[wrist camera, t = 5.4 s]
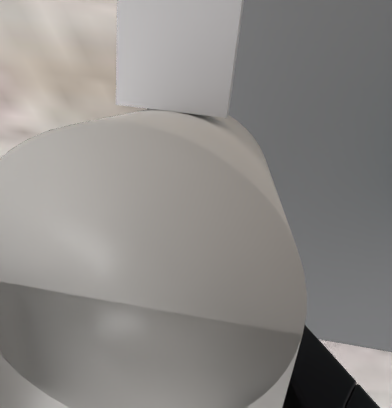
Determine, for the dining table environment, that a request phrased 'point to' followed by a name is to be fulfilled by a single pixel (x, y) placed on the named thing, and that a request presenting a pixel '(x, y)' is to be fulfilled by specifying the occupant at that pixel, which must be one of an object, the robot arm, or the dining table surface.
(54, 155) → the white rounded piece
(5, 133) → the dining table surface
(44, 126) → the dining table surface
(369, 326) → the rubber mat
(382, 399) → the dining table surface
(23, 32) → the dining table surface
